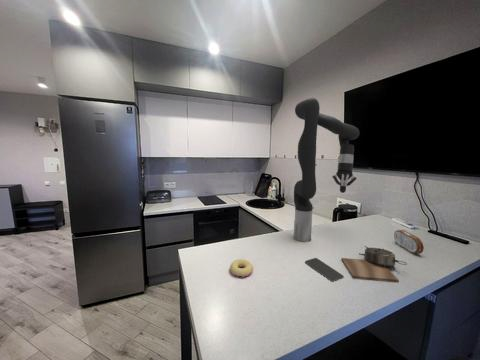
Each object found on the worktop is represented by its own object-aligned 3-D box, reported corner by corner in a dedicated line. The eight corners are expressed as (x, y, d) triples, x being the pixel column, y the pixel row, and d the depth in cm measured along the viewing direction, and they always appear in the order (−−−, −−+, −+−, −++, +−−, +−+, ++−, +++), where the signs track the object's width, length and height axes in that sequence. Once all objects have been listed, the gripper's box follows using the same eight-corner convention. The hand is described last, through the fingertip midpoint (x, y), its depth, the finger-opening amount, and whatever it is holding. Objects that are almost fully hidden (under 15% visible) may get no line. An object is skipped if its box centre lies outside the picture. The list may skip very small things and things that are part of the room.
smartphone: (332, 281, 74) (303, 261, 87) (331, 283, 74) (303, 262, 87) (345, 276, 77) (316, 257, 90) (345, 278, 77) (316, 259, 90)
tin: (423, 256, 91) (425, 240, 89) (416, 256, 91) (418, 240, 90) (397, 242, 106) (399, 227, 104) (392, 242, 106) (393, 227, 104)
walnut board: (353, 278, 76) (353, 275, 76) (341, 260, 89) (341, 257, 88) (398, 282, 73) (398, 279, 73) (379, 262, 86) (380, 260, 86)
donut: (246, 267, 88) (226, 269, 84) (246, 257, 88) (227, 259, 84) (256, 277, 78) (235, 280, 75) (257, 265, 79) (236, 267, 75)
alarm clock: (357, 257, 88) (401, 273, 75) (358, 246, 88) (402, 259, 75) (369, 254, 94) (411, 268, 80) (369, 243, 94) (412, 255, 80)
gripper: (334, 161, 109) (331, 191, 110) (360, 163, 106) (357, 194, 107) (331, 162, 117) (328, 191, 117) (355, 163, 114) (352, 193, 114)
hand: (342, 192), depth 112 cm, fingers closed
